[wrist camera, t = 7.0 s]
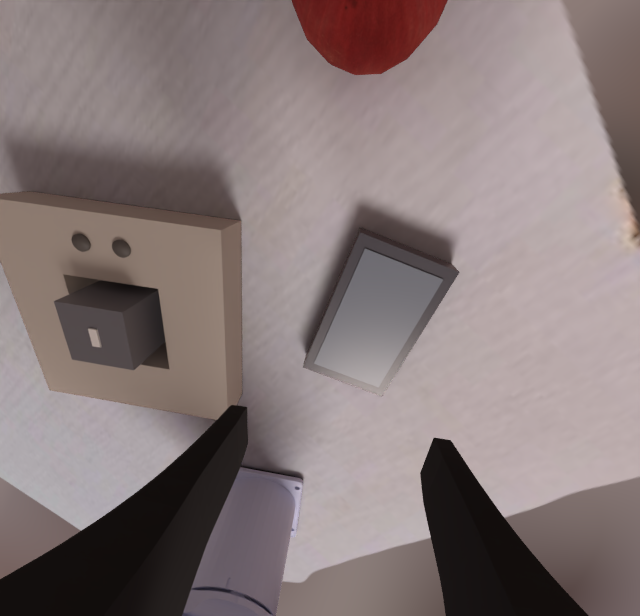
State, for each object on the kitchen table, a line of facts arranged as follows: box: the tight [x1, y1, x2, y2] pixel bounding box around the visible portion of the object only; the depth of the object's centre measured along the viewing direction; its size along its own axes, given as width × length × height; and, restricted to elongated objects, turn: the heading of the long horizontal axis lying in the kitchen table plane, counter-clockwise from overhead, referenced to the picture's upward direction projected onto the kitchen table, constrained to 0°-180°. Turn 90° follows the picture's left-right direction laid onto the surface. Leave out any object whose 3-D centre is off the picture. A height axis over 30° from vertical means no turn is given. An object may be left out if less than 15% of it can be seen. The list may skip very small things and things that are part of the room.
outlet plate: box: [0, 191, 242, 420], centre depth 20 cm, size 14×14×3 cm
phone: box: [303, 228, 459, 397], centre depth 20 cm, size 10×6×2 cm, turn 160°
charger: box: [54, 280, 165, 370], centre depth 19 cm, size 4×4×5 cm
